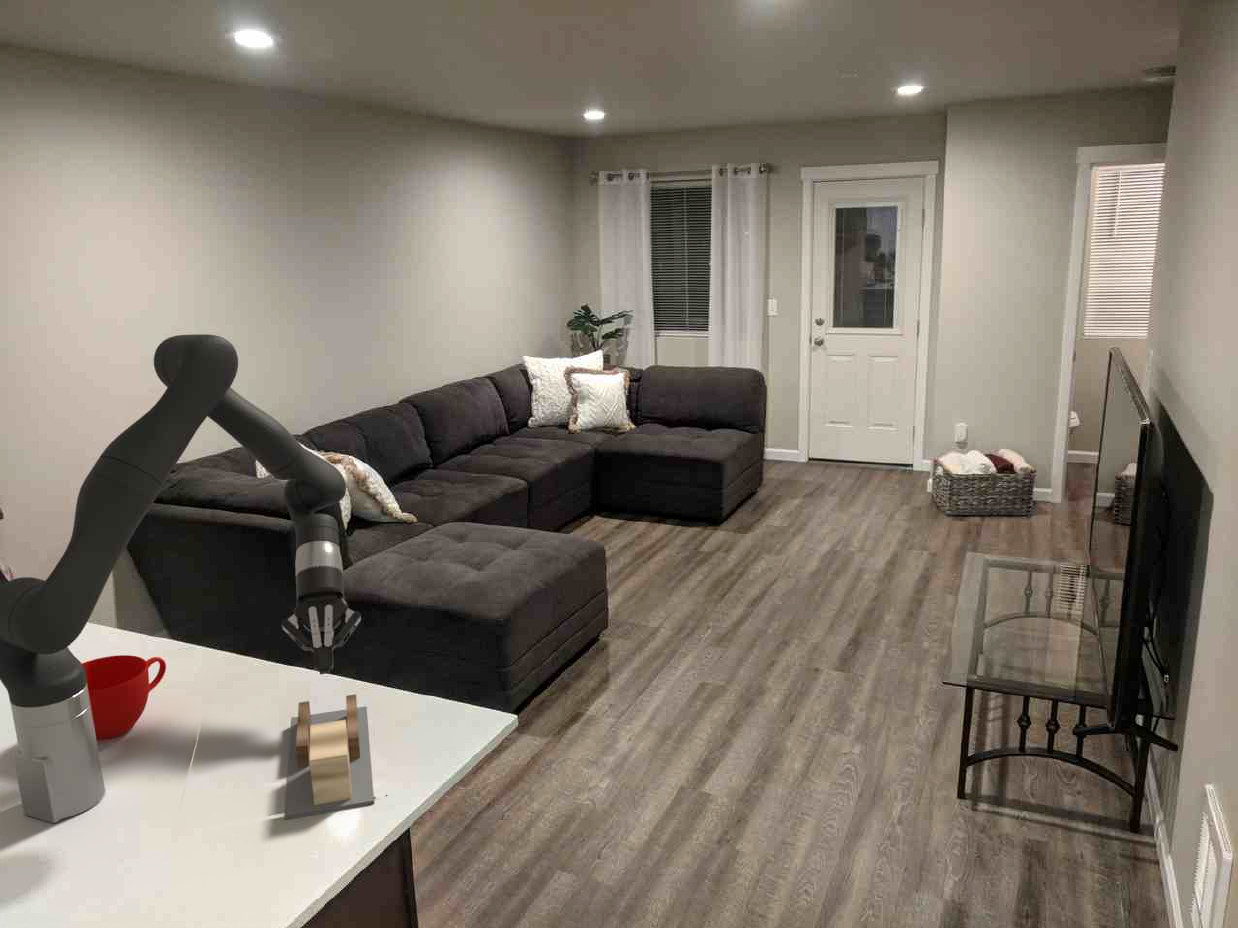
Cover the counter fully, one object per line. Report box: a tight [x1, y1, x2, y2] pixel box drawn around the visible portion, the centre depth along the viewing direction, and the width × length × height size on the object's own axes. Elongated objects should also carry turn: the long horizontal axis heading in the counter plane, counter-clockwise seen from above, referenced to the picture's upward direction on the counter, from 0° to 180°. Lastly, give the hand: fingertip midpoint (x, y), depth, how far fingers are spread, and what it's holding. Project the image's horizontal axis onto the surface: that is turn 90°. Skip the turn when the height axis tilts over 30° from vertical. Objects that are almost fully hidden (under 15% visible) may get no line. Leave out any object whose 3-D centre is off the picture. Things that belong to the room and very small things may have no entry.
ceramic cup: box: [81, 654, 167, 740], centre depth 153 cm, size 13×17×10 cm
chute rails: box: [296, 694, 360, 768], centre depth 148 cm, size 14×9×4 cm, turn 17°
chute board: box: [283, 705, 375, 820], centre depth 143 cm, size 28×12×1 cm, turn 17°
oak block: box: [310, 720, 351, 805], centre depth 136 cm, size 10×5×7 cm, turn 17°
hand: (324, 672), depth 149 cm, fingers closed
